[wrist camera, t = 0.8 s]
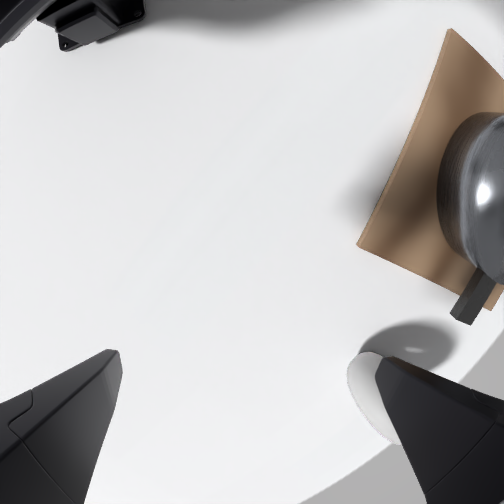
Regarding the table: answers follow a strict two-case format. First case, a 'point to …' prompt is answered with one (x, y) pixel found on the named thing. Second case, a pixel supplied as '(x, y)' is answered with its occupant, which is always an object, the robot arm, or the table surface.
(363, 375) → the donut
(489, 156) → the cooking pot
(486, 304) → the walnut trivet
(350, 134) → the table surface
